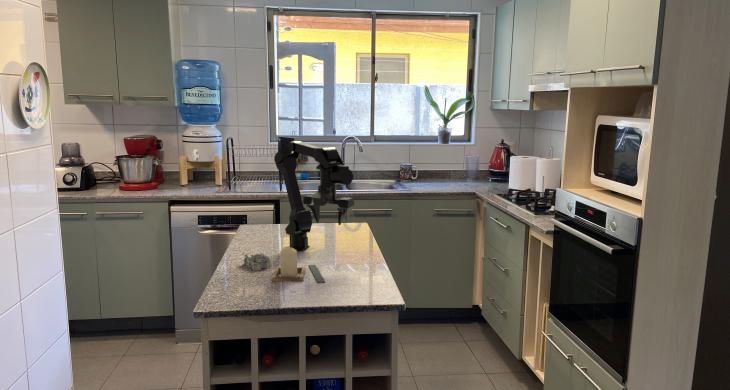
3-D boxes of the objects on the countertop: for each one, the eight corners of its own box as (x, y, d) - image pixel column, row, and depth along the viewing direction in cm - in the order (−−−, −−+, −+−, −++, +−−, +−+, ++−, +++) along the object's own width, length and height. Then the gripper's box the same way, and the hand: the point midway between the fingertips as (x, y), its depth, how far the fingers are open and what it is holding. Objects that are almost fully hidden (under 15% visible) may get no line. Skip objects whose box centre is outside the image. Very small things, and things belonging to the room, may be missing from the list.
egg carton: (241, 264, 186) (240, 253, 185) (260, 260, 190) (260, 249, 189) (253, 271, 177) (252, 260, 176) (273, 267, 181) (272, 256, 181)
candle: (300, 276, 172) (300, 247, 170) (287, 280, 168) (286, 250, 166) (290, 272, 176) (290, 244, 174) (277, 276, 172) (276, 247, 170)
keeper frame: (276, 271, 176) (276, 267, 176) (305, 271, 177) (305, 267, 177) (272, 281, 167) (272, 277, 166) (303, 281, 167) (303, 276, 167)
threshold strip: (325, 282, 166) (325, 281, 166) (317, 283, 165) (317, 281, 165) (315, 265, 183) (315, 264, 183) (308, 266, 182) (308, 265, 182)
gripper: (294, 183, 184) (295, 226, 187) (340, 187, 176) (341, 231, 179) (310, 179, 194) (310, 219, 197) (354, 182, 186) (354, 224, 189)
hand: (328, 223), depth 190 cm, fingers open, 9 cm apart
